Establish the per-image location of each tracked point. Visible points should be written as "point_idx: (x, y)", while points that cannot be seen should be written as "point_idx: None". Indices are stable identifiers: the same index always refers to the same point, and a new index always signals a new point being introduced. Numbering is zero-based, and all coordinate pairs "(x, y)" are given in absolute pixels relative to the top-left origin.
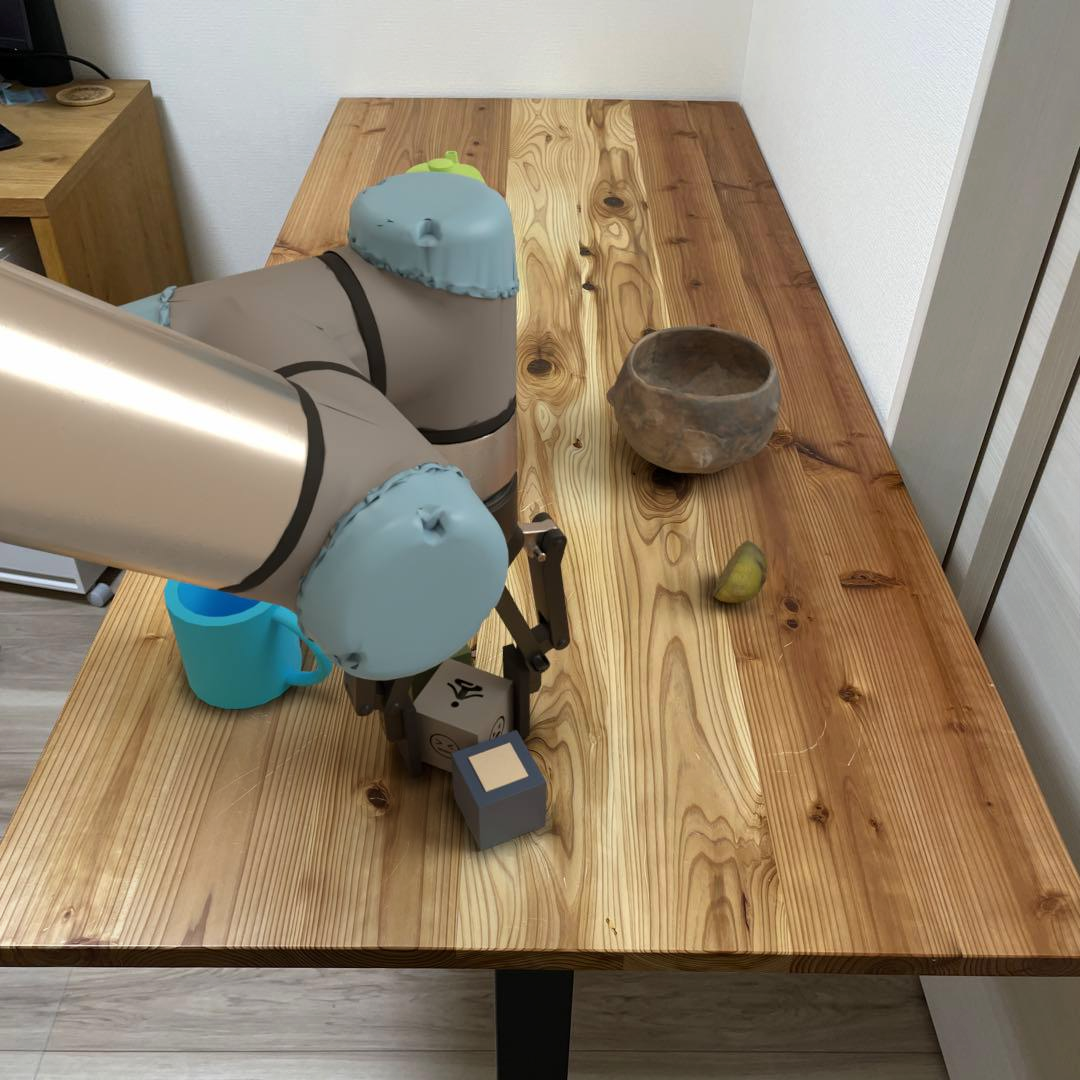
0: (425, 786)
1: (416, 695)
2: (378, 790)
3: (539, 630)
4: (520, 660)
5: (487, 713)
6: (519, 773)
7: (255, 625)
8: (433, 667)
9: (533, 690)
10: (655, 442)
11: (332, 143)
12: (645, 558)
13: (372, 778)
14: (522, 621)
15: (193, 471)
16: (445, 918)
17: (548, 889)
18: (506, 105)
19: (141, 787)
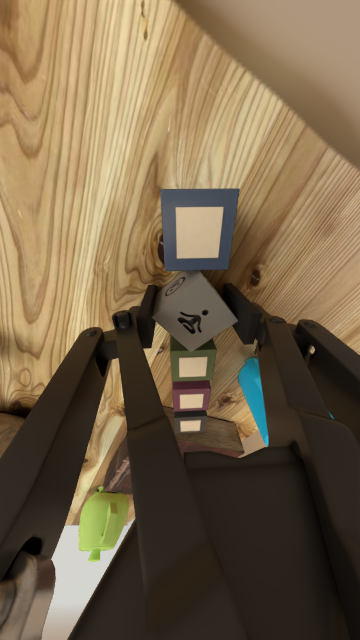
0: (225, 274)
1: None
2: (251, 283)
3: (111, 353)
4: (140, 330)
5: (184, 294)
6: (183, 215)
7: None
8: (198, 347)
9: (136, 307)
10: (7, 445)
11: (134, 517)
12: (44, 375)
13: (249, 292)
14: (125, 373)
15: None
16: (275, 141)
17: (186, 123)
18: (73, 523)
19: (346, 330)
